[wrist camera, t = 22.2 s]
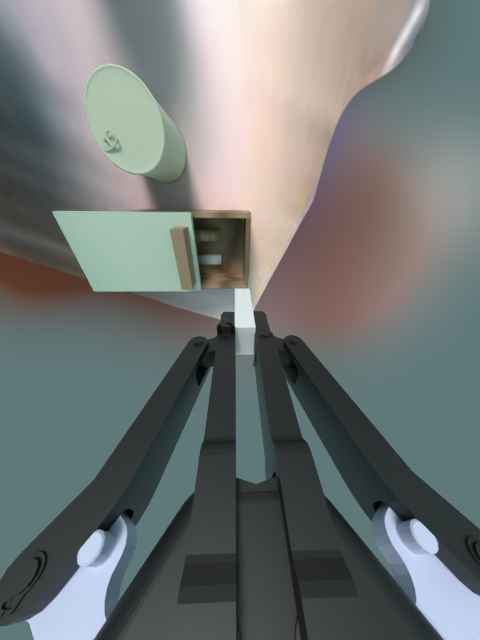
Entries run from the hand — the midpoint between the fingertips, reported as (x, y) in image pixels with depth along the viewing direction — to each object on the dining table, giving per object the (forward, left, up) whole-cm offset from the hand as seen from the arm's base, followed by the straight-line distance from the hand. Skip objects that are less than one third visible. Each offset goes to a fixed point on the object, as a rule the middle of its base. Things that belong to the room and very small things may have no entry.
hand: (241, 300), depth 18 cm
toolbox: (-9, 0, -26) cm, 28 cm away
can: (-14, +16, -27) cm, 34 cm away
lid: (-19, 0, -18) cm, 26 cm away
